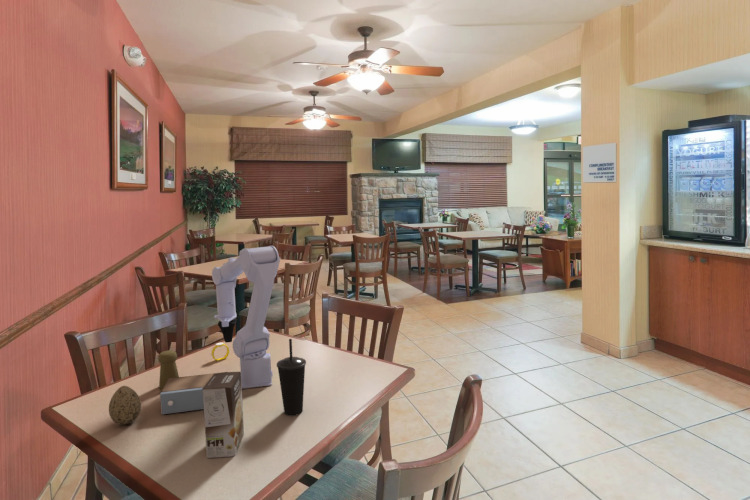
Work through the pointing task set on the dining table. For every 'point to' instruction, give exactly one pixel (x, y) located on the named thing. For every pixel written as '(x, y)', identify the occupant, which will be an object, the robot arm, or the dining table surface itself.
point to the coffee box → (223, 414)
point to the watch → (220, 346)
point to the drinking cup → (292, 382)
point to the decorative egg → (124, 406)
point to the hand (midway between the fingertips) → (228, 341)
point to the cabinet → (187, 382)
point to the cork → (167, 367)
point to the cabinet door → (181, 400)
